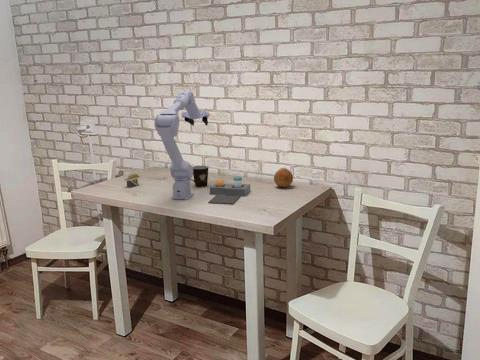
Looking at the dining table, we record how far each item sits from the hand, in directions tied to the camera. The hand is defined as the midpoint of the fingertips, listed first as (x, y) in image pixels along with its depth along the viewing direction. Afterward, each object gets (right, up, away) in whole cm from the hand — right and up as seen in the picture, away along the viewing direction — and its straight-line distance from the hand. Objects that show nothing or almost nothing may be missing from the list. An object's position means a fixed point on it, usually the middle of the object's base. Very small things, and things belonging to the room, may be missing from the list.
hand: (200, 123), depth 241 cm
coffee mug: (-1, -33, +2) cm, 33 cm away
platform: (-36, -34, +5) cm, 50 cm away
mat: (+14, -39, -27) cm, 49 cm away
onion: (+43, -33, -7) cm, 55 cm away
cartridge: (+20, -36, -15) cm, 44 cm away
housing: (+16, -36, -14) cm, 42 cm away
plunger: (+11, -34, -13) cm, 38 cm away
